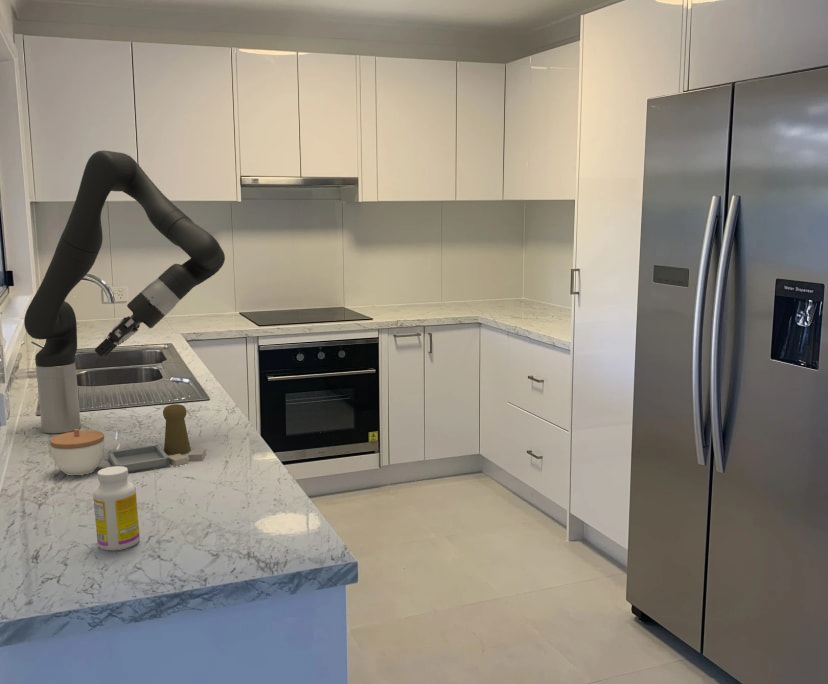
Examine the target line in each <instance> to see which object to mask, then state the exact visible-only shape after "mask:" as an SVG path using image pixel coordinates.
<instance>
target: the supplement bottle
mask: <svg viewBox="0 0 828 684" xmlns="http://www.w3.org/2000/svg"><path fill="white" fill-rule="evenodd" d="M128 477H129V474H128V469H127V468H126V467H122V466H115V467H112V466H108V467H103V468H102V469H100V470H98V471H97V480H98V482H99V484H98V485H97V486H96V487H95V488H94V490H93V493H92V496H93V497H92V499H93V507H94V510H93V511H94V518H95V519H94V520H95V529H96V531H95V532H96V538H97V546H98V547H99V548H100V549H101V550H104V551H108V550H112V551H111V552H114V551H121V550H122V551H123V550H126V549H129V548H132V547H133V546H135V545H137V543H138V542H140V541H139V540H140V538H141V537H140V525H139V524H140V523H139V512H138V501H137V491H136V486H135V484H134V483H132V481H129V480H128Z"/></svg>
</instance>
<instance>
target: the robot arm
mask: <svg viewBox="0 0 828 684" xmlns="http://www.w3.org/2000/svg"><path fill="white" fill-rule="evenodd" d="M111 192H122V193H124V194H126V195H127V196H129V197H131V198H132V199H134V200H135V201H136V202H137V203H138V204H139V205H140V206H141V207H142V209H143V210H144V212H145V214H146V216H147V219H148V220H149V222H150V223H151V224H152V225H153V227H154V228H155V229H156V230H157V231H158V232H160V234H161V235H163V236H164V238H166V239H167V240H168V241H169V242H170V243H172V244H174V245H175V246H176V247H179V248H180V249H181V250H183V252H184V253H186V254H187V255H188V256H189V257H190V258H189V259H188V260H186V261H185V262H184V263H182V264H180V263H173V264H172V265H170V266H169V267H168V268H167V269H166V270H164V271H163V272H162V274H160V275H159V276H158V277H157V278H155V280H152V282H150V283H149V284H148V285H146V287H145V288H144V289H142V290H141V291H140V292H139V293H138V294H137V295H135V296H134V298H133V299H131V301H129V302H128V303H127V305H126V307H127V309H129V311H131V312H132V314H131V316H129V315H128V316H126V317H125V316H124V317H123V318H122V319H121V320H120V321H119V323H118V324H117V325H115V326H114V327H113V328H112V330H111V331H110V332H109V333H108V334H107V337H106V338H105V339H104V340H103V341H102V342H101V343H100V344H98V345H97V346H96V347H95V348H94V352H95V353H96V354H97V355H98V356H100V357H106V356H108V355H109V354H110V353H111V352H112V351H114V350H115V348H116V347H118V346H120V345H121V344H123V343H124V342H126V341H127V340H129V339H130V338H131V337H132V336H134V335H135V334H136V333H137V332H138V331H139V328H140V326H141V324H142V323H143V324H144V325H145V326H146V327H148V328H149V329H153V328H154V327H155V326H156V325H157V324H158V323H160V321H161V320H163V319H164V318H165V317H166V316H167V315H168V313H170V312H171V311H172V310H173V309H174V308H175V307H176V305H177V304H178V303H179V302H180V301H181V300H182V299H183V298H185V296H186V295H188V294H189V293H190V292H191V291H192V290H193V288H195V287H197V286H199V285H201V284H202V283H204V282H205V281H207V280H209V279H210V278H212V277H213V276H215V275H216V274H217V273H218V272H219V271H220V270H221V269H222V267H223V265H224V264H225V260H226V255H225V253H224V250H223V248H222V247H221V245H220V243H219V242H218V240H217V239H216V238H215V237H214V236H213V235H212V234H211V233H209V232H208V231H207V230H205V229H204V228H203V227H201V226H200V225H198V224H196V223H195V222H194V221H193V220H192V219H191V218H190V217H189V216H188V215H187V214H185V213H184V211H182V209H180V208H179V207H177V206H176V205H175V204H174V203H173V202H172V201H171V200H170V199H169V198H167V196H166V195H164V193H163V192H162V191H161V190H160V189H159V188H158V186H157V185H156V184H155V183H154V182H153V181H152V180H151V179H150V177H149V176H148V174H146V172H145V171H144V170H143V169H142V167H141V166H140V164H138V163H137V161H136V160H135V159H134V158H133V157H132V156H131V155H129V154H127V153H124V152H120V151H119V152H118V151H111V150H97V151H95V152H94V153H93V154H91V155H90V157H89V158H88V160H87V162H86V163H85V167H84V170H83V174H82V177H81V181H80V184H79V188H78V192H77V195H76V198H75V201H74V204H73V206H72V209H71V212H70V214H69V217H68V219H67V221H66V225H65V227H64V229H63V231H62V233H61V236H60V238H59V241H58V242H57V246H56V248H55V250H54V254H53V256H52V259H51V261H50V263H49V265H48V267H47V270H46V272H45V275H44V276H43V278H42V280H41V281H42V282H41V283H40V285H39V287H38V289H37V290H36V292H35V294H34V297H33V298H32V299H31V301H30V303H29V305H28V306H27V309H26V312H25V314H24V321H23V322H24V323H23V324H24V325H23V326H24V329H25V331H26V333H27V334H28V335H29V337H31V338H33V339H34V340H45V343H44V346H43V347H42V348H41V349H40V350H39V351H38V352H37V353H35V354H36V355H35V356H34V357H35V358H34V359H35V370H36V378H37V389H38V390H37V391H38V393H37V394H38V401H39V411H40V424H41V431H42V432H43V433H45V434H63V433H68V432H74V429H79V430H80V428H81V416H80V415H81V414H80V404H79V403H80V402H79V391H78V379H77V366H76V354H77V351H78V328H77V327H78V325H77V317H76V313H75V310H74V308H73V307H72V305H71V304H69V303H70V302H69V303H68V302H67V301H66V300H67V299H66V298H67V297H68V295H69V294H70V293H71V291H73V289H74V288H75V287H76V286H77V285H78V284H79V283H80V282H81V281H82V280H83V279H84V278H85V276H86V275H87V274H88V273H89V272H90V270H91V269H92V267H93V266H94V264H95V263H96V259H97V257H98V255H99V253H100V251H101V248H102V245H103V236H104V235H103V228H102V220H101V219H102V211H103V207H104V205H105V203H106V201H107V199H108V196H109V195H110V193H111Z"/></svg>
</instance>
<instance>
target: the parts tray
mask: <svg viewBox="0 0 828 684" xmlns="http://www.w3.org/2000/svg"><path fill="white" fill-rule="evenodd" d="M168 456H169V455H167V454H166V453H165V452H164V449H163V448H162V447H161V446H160V445H159V444H154V445H153V444H152V445H145V446H140V447H139V446H138V447H133V448H125V449H120V450H113V451H112V450H111V451H108V452H107V458H108V462H109V464H110V467H115V466H122V467H126V468H127V469H128V475H130V474H134V473H140V472H146V471H151V470H152V471H154V470H160V469H165V468H169V467H170V468H171V465H170V458H169V457H168Z"/></svg>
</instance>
